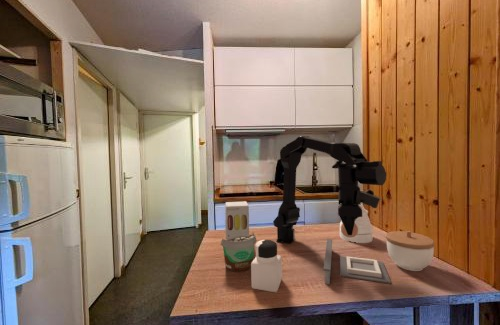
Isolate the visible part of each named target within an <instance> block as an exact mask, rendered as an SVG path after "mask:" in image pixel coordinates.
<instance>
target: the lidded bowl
mask: <svg viewBox="0 0 500 325" xmlns="http://www.w3.org/2000/svg"><path fill="white" fill-rule="evenodd" d="M385 239H386V249H387V253H388V255H389V257H390V259H391V260H392V261H393V262H394V263H395V265H396V266H397V267H399V268H400V269H403V270H406V271H411V272H420V271H423V269H425V268H426V267H428V266H430V265H431V262H432V260H433V257H434V250H435V249H434V248H435V241H434V240H433V239H432V238H431V237H429V236H426V235H423V234H420V233H417V232H412V231H411V230H406V231H404V230H403V231H402V230H394V231H393V230H392V231H389V232H387V233H386V234H385Z"/></svg>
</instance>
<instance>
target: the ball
mask: <svg viewBox="0 0 500 325" xmlns="http://www.w3.org/2000/svg"><path fill="white" fill-rule="evenodd" d="M341 232H342V233H343V235H345V236H346V237H350V238H351V237H354V236H356V235H357V233H358V227H357V225H356V224H355V223H354V228H353V232H352V235H348V234H347V231H346V229H345V227H344V225H343V224H342V225H341Z"/></svg>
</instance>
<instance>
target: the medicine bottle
mask: <svg viewBox="0 0 500 325" xmlns="http://www.w3.org/2000/svg"><path fill="white" fill-rule="evenodd" d="M282 266H283V265H282V255H280V254H278V244H277V242H275V241H274V240H271V239H261V240H259V241H256V243H255V258H253V261H252V263H251V269H250V273H251V274H250V275H251V276H250V278H251V281H250V282H251V288H252V289H255V290H260V291H265V292H270V293H271V292H272V293H277V292H278V290H279V287H280V284H281V283H282V282H281V281H282V280H283V276H282V275H283V274H282V273H283V272H282V270H283V269H282Z"/></svg>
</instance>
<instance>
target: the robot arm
mask: <svg viewBox="0 0 500 325" xmlns="http://www.w3.org/2000/svg"><path fill="white" fill-rule="evenodd" d="M307 149H310V150H314V151H318V152H321V153H324V154H327V155H329V156H330V157H331V158H332V159H334V160H336V162H335V163H334V164H333V165H332V166H331V169H337V171H338V172H337V173H338V175H337V176H338V199H337V200H338V206H337V216H338V217H339V218H340V221H341V220H342V223H343V225H344V227H345V229H346V231H347V234H348V235H352V232H353V228H354V223H355V220H356V219H357V218H358V217H362V208H361V207H360V206H359V205H361V203H362V204H364V205H367V206H369V207H371V208H373V209H377V208H378V205H379V203H380V200H381V197H380V196H378V195H376V194H375V192H374V190H372V189H370V188H369V189H367V190H365V191H364V190H361V188H360V186H359V184H361V185H369V186H383V185H384V184H385V183H386V180H387V171H386V168H385V167H384V165H383V162H382V160H375V161H369V160H368V159H367V158H366V156H365V155H364V154H363V152H362V151H361V147H360V145H359V144H357V143H354V142H332V141H328V140H323V139H319V138H313V137H312V136H311V137H310V136H308V135H299V136H298V137H297V138H296V139H294V140H292V141H291V142H289V143H286V144H285V146H283V147H282V148H281V149H280V150H279V159H280V162H281V165H282V167H283V186H282V188H283V189H282V203H280V204H281V205H280V206H279V208H278V213H277V216H276V217H275V218H274V220H273V222H272V223H273V226H274V227H275V228H276V230H277V231H276V232H277V236H276V238H277V239H276V243H286V244H293V241H295V239H296V238H295V235H296V234H295V233H296V232H295V229H294V226H296V225H297V223H298V221H299V218H301V216H300V213H301V208H300V207H299V206H297V204H296V188H297V187H296V183H297V182H296V181H297V168H298V167H299V165H300V163H301V159H302V156H303V154H304V153H306V152H307ZM358 204H359V205H358Z"/></svg>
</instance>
